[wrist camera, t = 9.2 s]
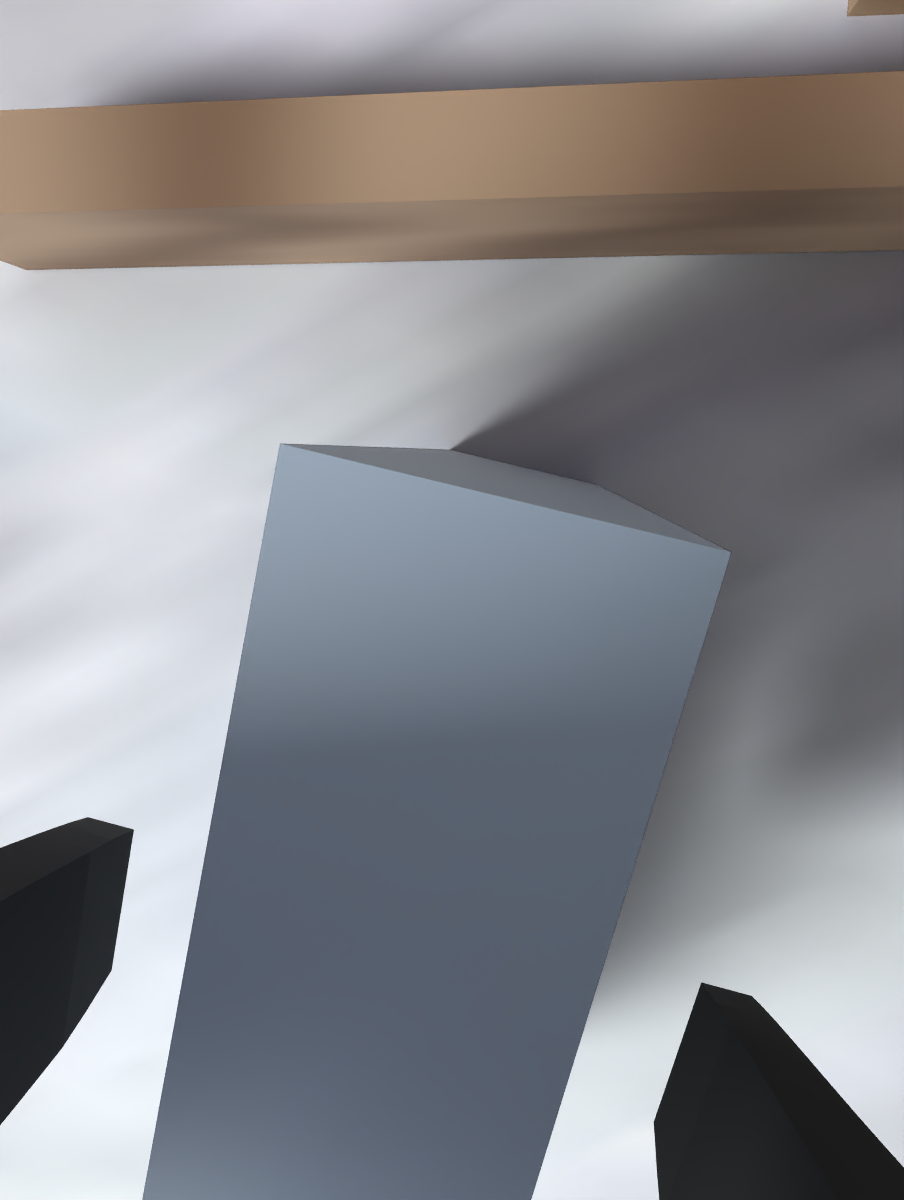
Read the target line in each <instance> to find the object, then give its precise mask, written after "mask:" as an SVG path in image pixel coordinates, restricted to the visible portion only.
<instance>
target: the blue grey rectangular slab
mask: <svg viewBox="0 0 904 1200" xmlns="http://www.w3.org/2000/svg"><path fill="white" fill-rule="evenodd" d="M730 555H731V552H730V551H728V550H726V549H724V548H722V547H720V546H718V545H716V544H714V543H712V542H710V541H708V540H706V539H704V538H702V537H700V536H698V535H696V534H694V533H692V532H690V531H688V530H686V529H684V528H682V527H680V526H678V525H676V524H674V523H672V522H670V521H668V520H666V519H664V518H662V517H660V516H658V515H656V514H654V513H652V512H650V511H648V510H646V509H644V508H642V507H640V506H638V505H636V504H634V503H632V502H630V501H628V500H626V499H624V498H622V497H620V496H618V495H616V494H614V493H612V492H610V491H608V490H606V489H604V488H602V487H600V486H598V485H596V484H592V483H588V482H583V481H579V480H575V479H571V478H567V477H562V476H558V475H554V474H550V473H546V472H541V471H537V470H533V469H529V468H525V467H520V466H516V465H512V464H508V463H504V462H499V461H495V460H491V459H487V458H483V457H478V456H474V455H470V454H466V453H462V452H457V451H453V450H444V449H416V448H388V447H360V446H332V445H305V444H280V446H279V452H278V457H277V463H276V468H275V474H274V479H273V485H272V490H271V496H270V501H269V506H268V512H267V517H266V523H265V528H264V534H263V539H262V545H261V550H260V556H259V561H258V567H257V572H256V578H255V583H254V589H253V594H252V600H251V605H250V611H249V616H248V622H247V627H246V633H245V638H244V644H243V649H242V655H241V660H240V666H239V671H238V677H237V682H236V688H235V693H234V699H233V704H232V710H231V715H230V721H229V726H228V732H227V737H226V743H225V748H224V754H223V759H222V765H221V770H220V776H219V781H218V787H217V792H216V798H215V803H214V809H213V814H212V820H211V825H210V831H209V836H208V842H207V847H206V853H205V858H204V864H203V869H202V875H201V880H200V886H199V891H198V897H197V902H196V908H195V913H194V919H193V924H192V930H191V935H190V941H189V946H188V952H187V957H186V963H185V968H184V974H183V979H182V985H181V990H180V996H179V1001H178V1007H177V1012H176V1018H175V1023H174V1029H173V1034H172V1040H171V1045H170V1051H169V1056H168V1062H167V1067H166V1073H165V1078H164V1084H163V1089H162V1095H161V1100H160V1106H159V1111H158V1117H157V1122H156V1128H155V1133H154V1139H153V1144H152V1150H151V1155H150V1161H149V1166H148V1172H147V1177H146V1183H145V1188H144V1194H143V1199H142V1200H531V1198H532V1195H533V1192H534V1189H535V1185H536V1182H537V1179H538V1176H539V1173H540V1169H541V1166H542V1163H543V1160H544V1156H545V1153H546V1150H547V1147H548V1143H549V1140H550V1137H551V1134H552V1131H553V1127H554V1124H555V1121H556V1118H557V1114H558V1111H559V1108H560V1105H561V1101H562V1098H563V1095H564V1092H565V1088H566V1085H567V1082H568V1079H569V1076H570V1072H571V1069H572V1066H573V1063H574V1059H575V1056H576V1053H577V1050H578V1046H579V1043H580V1040H581V1037H582V1034H583V1030H584V1027H585V1024H586V1021H587V1017H588V1014H589V1011H590V1008H591V1004H592V1001H593V998H594V995H595V991H596V988H597V985H598V982H599V979H600V975H601V972H602V969H603V966H604V962H605V959H606V956H607V953H608V949H609V946H610V943H611V940H612V937H613V933H614V930H615V927H616V924H617V920H618V917H619V914H620V911H621V907H622V904H623V901H624V898H625V894H626V891H627V888H628V885H629V882H630V878H631V875H632V872H633V869H634V865H635V862H636V859H637V856H638V852H639V849H640V846H641V843H642V840H643V836H644V833H645V830H646V827H647V823H648V820H649V817H650V814H651V810H652V807H653V804H654V801H655V798H656V794H657V791H658V788H659V785H660V781H661V778H662V775H663V772H664V768H665V765H666V762H667V759H668V755H669V752H670V749H671V746H672V743H673V739H674V736H675V733H676V730H677V726H678V723H679V720H680V717H681V713H682V710H683V707H684V704H685V701H686V697H687V694H688V691H689V688H690V684H691V681H692V678H693V675H694V671H695V668H696V665H697V662H698V658H699V655H700V652H701V649H702V646H703V642H704V639H705V636H706V633H707V629H708V626H709V623H710V620H711V616H712V613H713V610H714V607H715V604H716V600H717V597H718V594H719V591H720V587H721V584H722V581H723V578H724V574H725V571H726V568H727V565H728V561H729V558H730Z"/></svg>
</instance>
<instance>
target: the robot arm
mask: <svg viewBox="0 0 904 1200" xmlns="http://www.w3.org/2000/svg"><path fill="white" fill-rule="evenodd" d="M133 832H134V830H133V829H130V828H126V827H122V826H118V825H115V824H111V823H107V822H104V821H100V820H96V819H92V818H89V817H87V818H84V819H81V820H77V821H74V822H71V823H68V824H65V825H62V826H59V827H56V828H53V829H50V830H47V831H45V832H42V833H39V834H36V835H34V836H31V837H28V838H26V839H23V840H20V841H18V842H15V843H12V844H10V845H7V846H4V847H2V848H0V1125H1V1124H2V1122H3V1121H4V1120H5V1119H6V1117H7V1116H8V1115H9V1114H10V1112H11V1111H12V1110H13V1109H14V1108H15V1106H16V1105H17V1104H18V1103H19V1101H20V1100H21V1099H22V1098H23V1096H24V1095H25V1094H26V1093H27V1091H28V1090H29V1089H30V1088H31V1086H32V1085H33V1084H34V1083H35V1081H36V1080H37V1079H38V1078H39V1076H40V1075H41V1074H42V1073H43V1071H44V1070H45V1069H46V1068H47V1066H48V1065H49V1064H50V1063H51V1061H52V1060H53V1059H54V1057H55V1056H56V1055H57V1054H58V1052H59V1051H60V1050H61V1049H62V1047H63V1046H64V1044H65V1043H66V1041H67V1040H68V1038H69V1037H70V1035H71V1034H72V1032H73V1030H74V1029H75V1027H76V1026H77V1024H78V1023H79V1021H80V1020H81V1018H82V1017H83V1015H84V1014H85V1012H86V1011H87V1009H88V1007H89V1006H90V1004H91V1002H92V1001H93V999H94V998H95V996H96V994H97V993H98V991H99V990H100V988H101V986H102V985H103V983H104V982H105V980H106V978H107V977H108V975H109V973H110V972H111V970H112V964H113V957H114V951H115V945H116V938H117V932H118V926H119V920H120V913H121V907H122V901H123V894H124V888H125V882H126V876H127V869H128V863H129V857H130V850H131V844H132V838H133ZM654 1132H655V1147H656V1163H657V1177H658V1189H659V1200H904V1167H903V1166H902V1165H901V1164H900V1163H899V1162H898V1161H897V1160H896V1158H895V1157H894V1156H893V1155H892V1154H891V1153H890V1152H889V1151H888V1149H887V1148H886V1147H885V1146H884V1145H883V1144H882V1143H881V1142H880V1141H879V1139H878V1138H877V1137H876V1136H875V1135H874V1134H873V1133H872V1131H871V1130H870V1129H869V1128H868V1127H867V1126H866V1125H865V1124H864V1122H863V1121H862V1120H861V1119H860V1118H859V1117H858V1116H857V1114H856V1113H855V1112H854V1111H853V1110H852V1109H851V1108H850V1106H849V1105H848V1104H847V1103H846V1102H845V1101H844V1099H843V1098H842V1097H841V1096H840V1095H839V1094H838V1093H837V1091H836V1090H835V1089H834V1088H833V1087H832V1086H831V1084H830V1083H829V1082H828V1081H827V1080H826V1079H825V1077H824V1076H823V1075H822V1074H821V1073H820V1072H819V1071H818V1069H817V1068H816V1067H815V1066H814V1065H813V1064H812V1062H811V1061H810V1060H809V1059H808V1058H807V1057H806V1055H805V1054H804V1053H803V1052H802V1051H801V1050H800V1048H799V1047H798V1046H797V1045H796V1044H795V1043H794V1042H793V1040H792V1039H791V1038H790V1037H789V1036H788V1035H787V1034H786V1032H785V1031H784V1030H783V1029H782V1028H781V1027H780V1026H779V1024H778V1023H777V1022H776V1021H775V1020H774V1019H773V1018H772V1017H771V1016H770V1014H769V1013H768V1012H767V1011H766V1010H765V1009H764V1008H763V1007H762V1006H761V1005H760V1004H759V1003H758V1002H757V1001H756V1000H755V999H754V998H753V997H752V996H750V995H746V994H742V993H739V992H735V991H731V990H727V989H724V988H720V987H716V986H713V985H709V984H705V983H701V985H700V988H699V991H698V994H697V997H696V1000H695V1003H694V1006H693V1009H692V1012H691V1015H690V1018H689V1021H688V1023H687V1026H686V1029H685V1032H684V1035H683V1038H682V1041H681V1044H680V1047H679V1050H678V1053H677V1056H676V1059H675V1062H674V1064H673V1067H672V1070H671V1073H670V1076H669V1079H668V1082H667V1085H666V1088H665V1091H664V1094H663V1097H662V1100H661V1103H660V1105H659V1108H658V1111H657V1114H656V1117H655V1120H654Z"/></svg>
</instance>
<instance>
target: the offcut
mask: <svg viewBox="0 0 904 1200" xmlns="http://www.w3.org/2000/svg"><path fill="white" fill-rule="evenodd" d="M894 14H904V0H848V11H847V16H867V15H894Z"/></svg>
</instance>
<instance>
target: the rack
mask: <svg viewBox="0 0 904 1200" xmlns="http://www.w3.org/2000/svg"><path fill="white" fill-rule="evenodd" d="M881 250H904V71H887V72H865V73H842V74H819V75H796V76H774V77H751V78H728V79H705V80H683V81H660V82H637V83H615V84H592V85H569V86H546V87H524V88H501V89H478V90H455V91H433V92H410V93H387V94H364V95H342V96H319V97H296V98H274V99H251V100H228V101H205V102H183V103H160V104H137V105H114V106H92V107H69V108H46V109H24V110H1V111H0V260H1V261H3V262H6V263H9V264H12V265H14V266H17V267H20V268H23V269H25V270H44V269H88V268H132V267H176V266H220V265H264V264H308V263H352V262H396V261H440V260H484V259H528V258H573V257H617V256H661V255H705V254H749V253H793V252H837V251H881Z"/></svg>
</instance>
